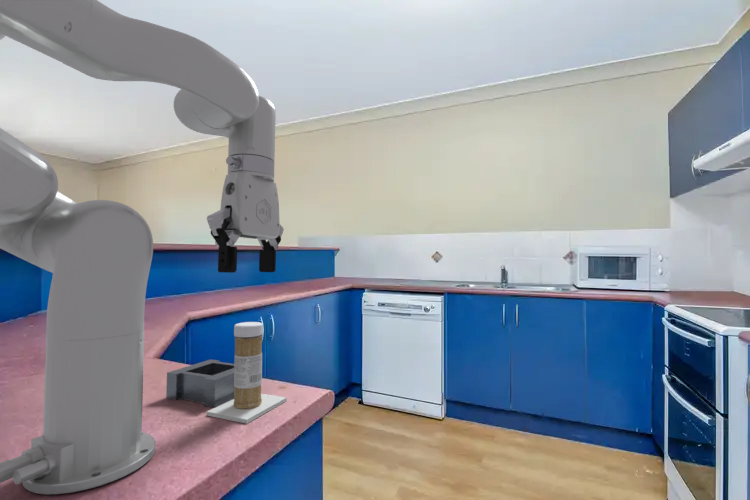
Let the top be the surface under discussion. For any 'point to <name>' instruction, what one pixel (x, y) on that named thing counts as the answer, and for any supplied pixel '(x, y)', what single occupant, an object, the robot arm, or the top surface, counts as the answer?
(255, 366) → the sprinkles bottle
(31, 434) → the top surface
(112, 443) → the robot arm
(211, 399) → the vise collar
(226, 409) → the rubber pad
